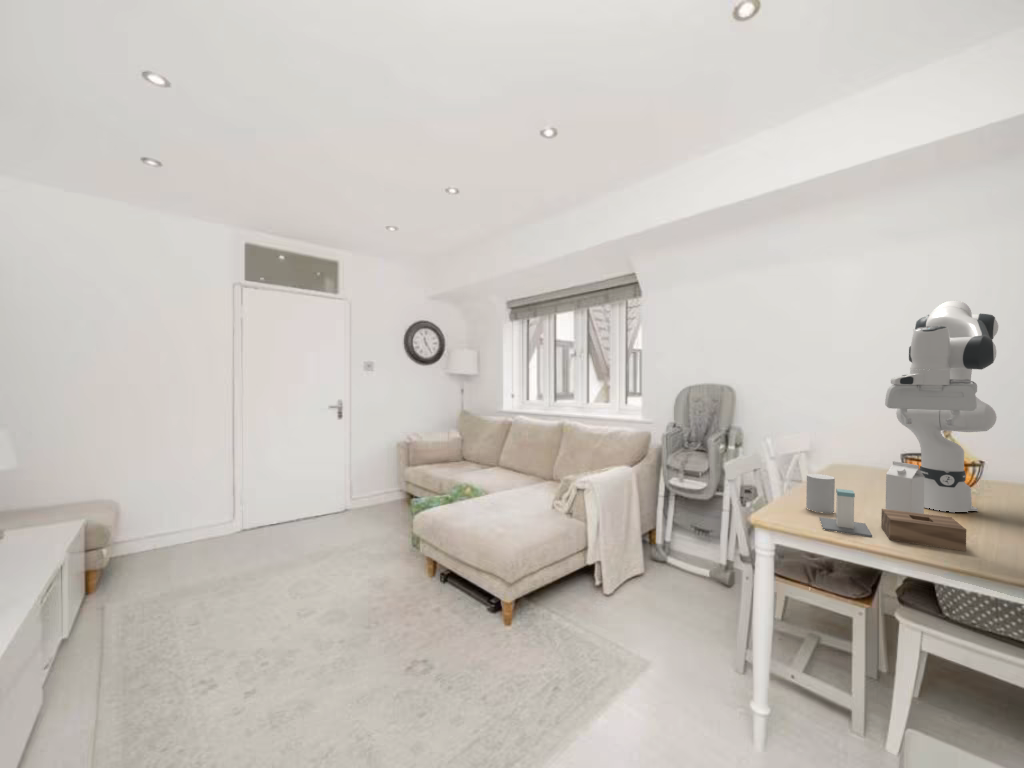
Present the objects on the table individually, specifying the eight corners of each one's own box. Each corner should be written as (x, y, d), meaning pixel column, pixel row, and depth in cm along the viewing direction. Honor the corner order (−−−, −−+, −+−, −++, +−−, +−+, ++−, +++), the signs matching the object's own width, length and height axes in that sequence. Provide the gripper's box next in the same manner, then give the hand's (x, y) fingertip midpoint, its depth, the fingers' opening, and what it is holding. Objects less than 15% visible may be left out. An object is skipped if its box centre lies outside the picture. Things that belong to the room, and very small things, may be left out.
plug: (835, 522, 141) (836, 488, 141) (852, 524, 139) (852, 490, 139) (837, 526, 138) (837, 491, 137) (854, 528, 135) (854, 493, 135)
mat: (819, 518, 147) (819, 517, 147) (865, 525, 140) (865, 523, 140) (822, 529, 136) (823, 527, 136) (872, 537, 130) (872, 535, 130)
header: (881, 527, 138) (881, 508, 138) (950, 537, 130) (951, 517, 130) (889, 539, 128) (890, 519, 128) (965, 551, 120) (966, 529, 120)
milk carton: (898, 515, 150) (899, 460, 150) (923, 522, 143) (925, 464, 143) (885, 518, 147) (886, 461, 147) (910, 524, 141) (911, 466, 140)
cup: (837, 510, 156) (838, 476, 155) (829, 515, 151) (829, 480, 150) (811, 505, 162) (811, 472, 162) (802, 509, 157) (803, 475, 157)
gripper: (973, 379, 131) (971, 425, 131) (884, 378, 141) (883, 421, 142) (981, 379, 125) (980, 427, 126) (888, 379, 136) (887, 423, 136)
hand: (928, 424), depth 134 cm, fingers open, 8 cm apart
